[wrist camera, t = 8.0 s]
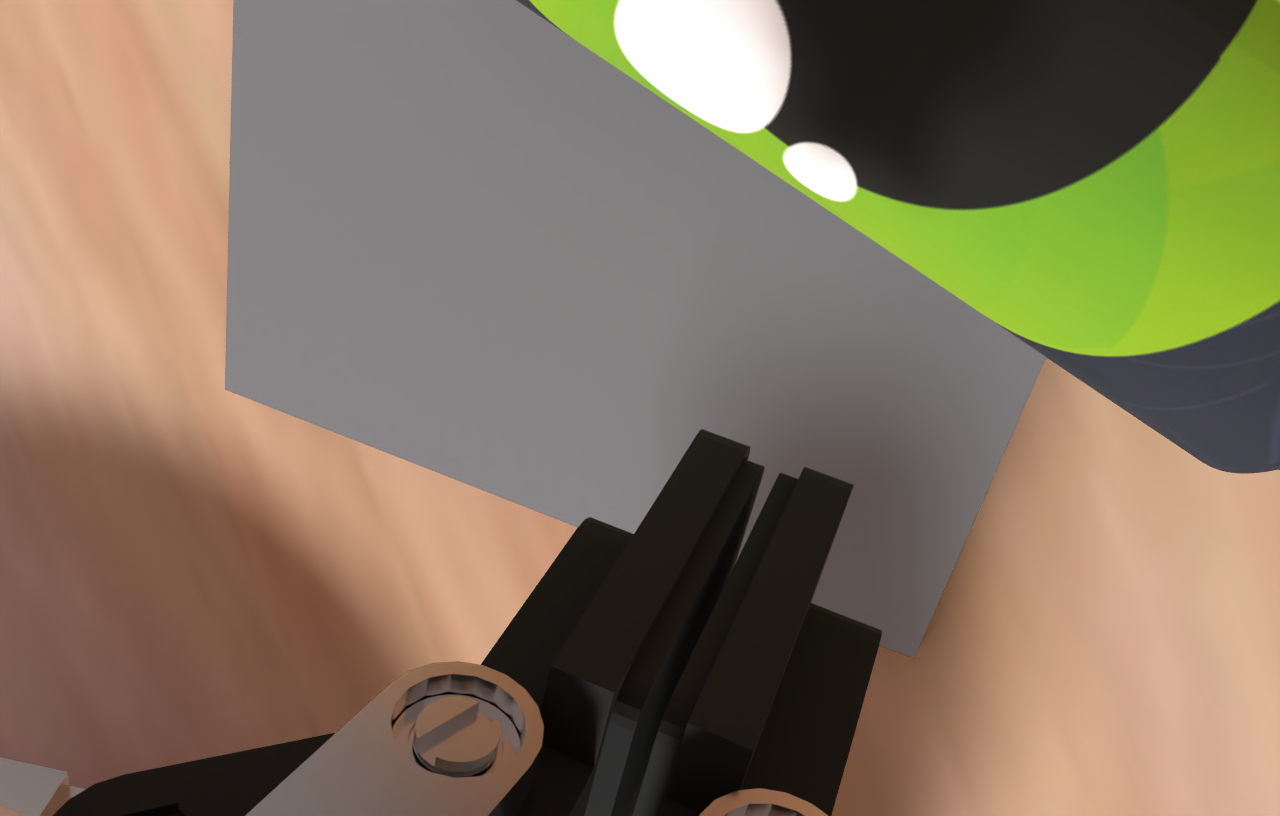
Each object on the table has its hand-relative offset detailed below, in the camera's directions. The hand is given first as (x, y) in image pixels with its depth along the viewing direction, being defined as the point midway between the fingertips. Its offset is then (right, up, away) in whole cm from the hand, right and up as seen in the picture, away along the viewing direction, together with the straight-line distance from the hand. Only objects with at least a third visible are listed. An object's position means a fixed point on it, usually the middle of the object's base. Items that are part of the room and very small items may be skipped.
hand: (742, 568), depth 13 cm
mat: (-1, +6, +9) cm, 11 cm away
